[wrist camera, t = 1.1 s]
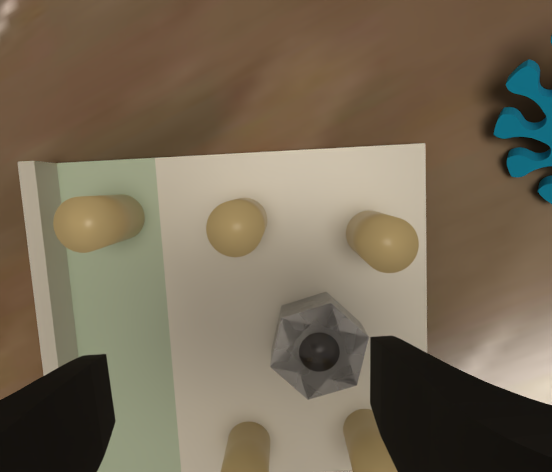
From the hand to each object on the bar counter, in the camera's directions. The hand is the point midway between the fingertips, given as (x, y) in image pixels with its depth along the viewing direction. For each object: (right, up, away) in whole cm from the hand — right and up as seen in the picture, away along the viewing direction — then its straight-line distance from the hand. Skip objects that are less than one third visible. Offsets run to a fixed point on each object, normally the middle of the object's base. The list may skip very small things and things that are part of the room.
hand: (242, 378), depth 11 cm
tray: (-1, -1, +12) cm, 12 cm away
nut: (+3, -2, +11) cm, 12 cm away
